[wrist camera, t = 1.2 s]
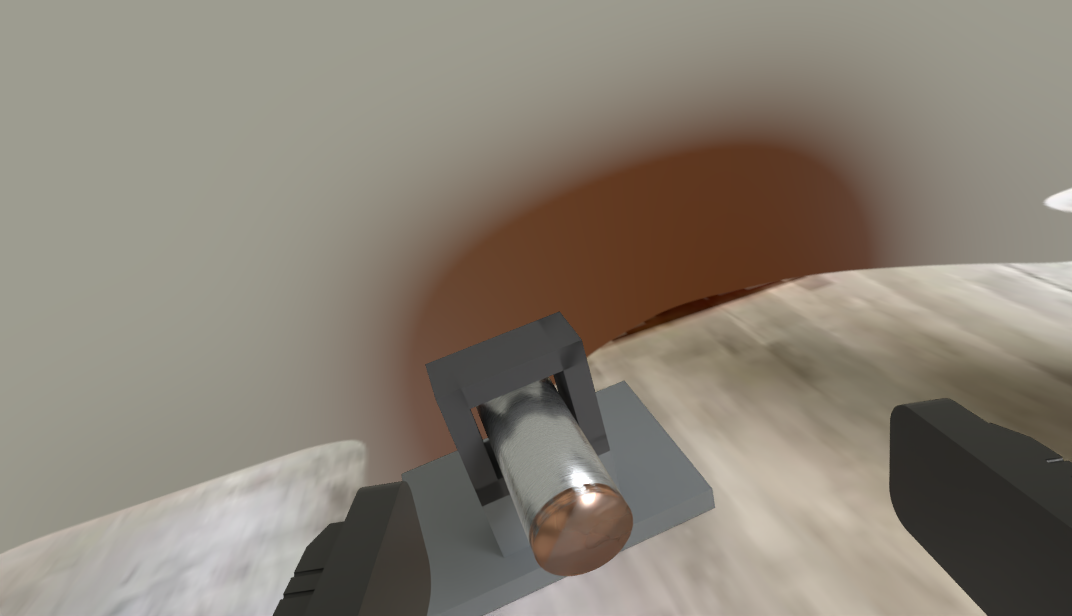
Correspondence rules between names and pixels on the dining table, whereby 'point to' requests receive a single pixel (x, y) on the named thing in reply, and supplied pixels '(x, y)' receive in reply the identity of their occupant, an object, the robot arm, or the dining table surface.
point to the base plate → (498, 535)
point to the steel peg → (556, 480)
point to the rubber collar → (506, 370)
